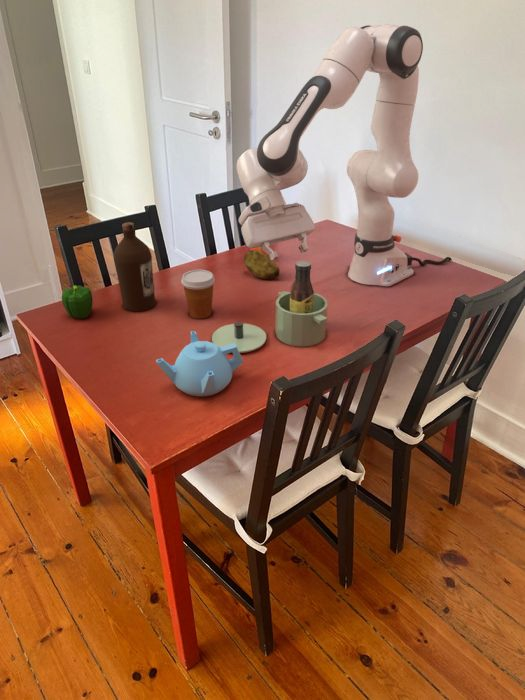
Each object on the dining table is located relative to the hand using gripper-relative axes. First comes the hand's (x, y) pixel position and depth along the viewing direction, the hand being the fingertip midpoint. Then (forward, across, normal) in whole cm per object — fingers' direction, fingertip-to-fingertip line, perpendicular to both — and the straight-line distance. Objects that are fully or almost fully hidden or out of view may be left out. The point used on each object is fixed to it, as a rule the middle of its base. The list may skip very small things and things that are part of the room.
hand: (290, 255), depth 138 cm
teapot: (+23, +33, -6) cm, 41 cm away
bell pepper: (-12, +48, -41) cm, 64 cm away
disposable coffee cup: (+1, +18, -28) cm, 34 cm away
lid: (+14, +16, -14) cm, 26 cm away
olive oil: (-10, +31, -39) cm, 51 cm away
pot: (+19, 0, -10) cm, 22 cm away
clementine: (-16, -18, -46) cm, 52 cm away
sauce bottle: (+19, 0, -10) cm, 21 cm away
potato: (-8, -11, -37) cm, 40 cm away
